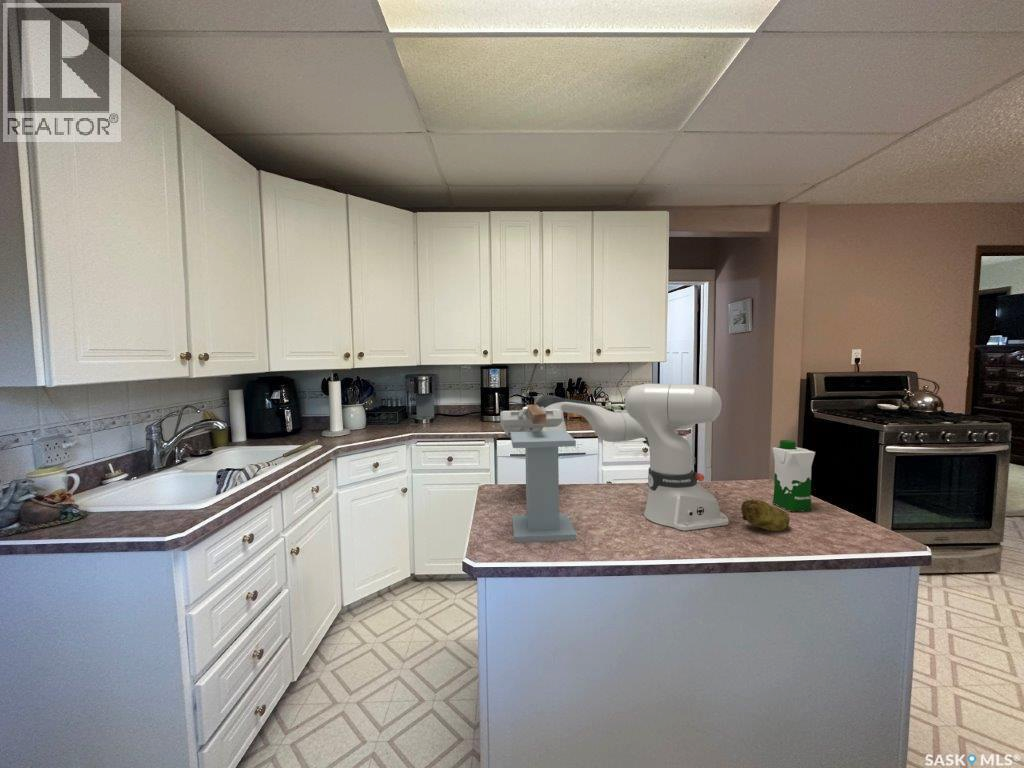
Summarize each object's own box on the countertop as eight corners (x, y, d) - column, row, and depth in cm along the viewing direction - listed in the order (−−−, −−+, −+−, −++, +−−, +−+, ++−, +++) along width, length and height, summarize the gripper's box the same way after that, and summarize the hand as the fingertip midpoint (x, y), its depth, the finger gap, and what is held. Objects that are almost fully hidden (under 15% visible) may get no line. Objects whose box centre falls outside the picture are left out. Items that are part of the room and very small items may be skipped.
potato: (800, 537, 103) (801, 506, 102) (747, 534, 105) (747, 504, 104) (784, 523, 111) (784, 495, 111) (734, 521, 113) (734, 494, 113)
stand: (566, 518, 117) (565, 430, 116) (576, 540, 103) (575, 440, 102) (512, 520, 117) (510, 432, 115) (514, 542, 103) (512, 442, 101)
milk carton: (792, 501, 128) (793, 439, 127) (817, 511, 119) (819, 445, 118) (767, 503, 127) (769, 440, 125) (791, 514, 118) (793, 446, 116)
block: (537, 412, 128) (537, 404, 128) (546, 423, 106) (546, 414, 106) (526, 412, 128) (526, 404, 127) (533, 423, 106) (533, 414, 105)
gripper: (561, 432, 134) (567, 417, 122) (500, 434, 133) (500, 419, 121) (559, 415, 137) (565, 398, 125) (499, 417, 136) (500, 400, 124)
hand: (533, 409), depth 123 cm, fingers closed on block, 3 cm apart
